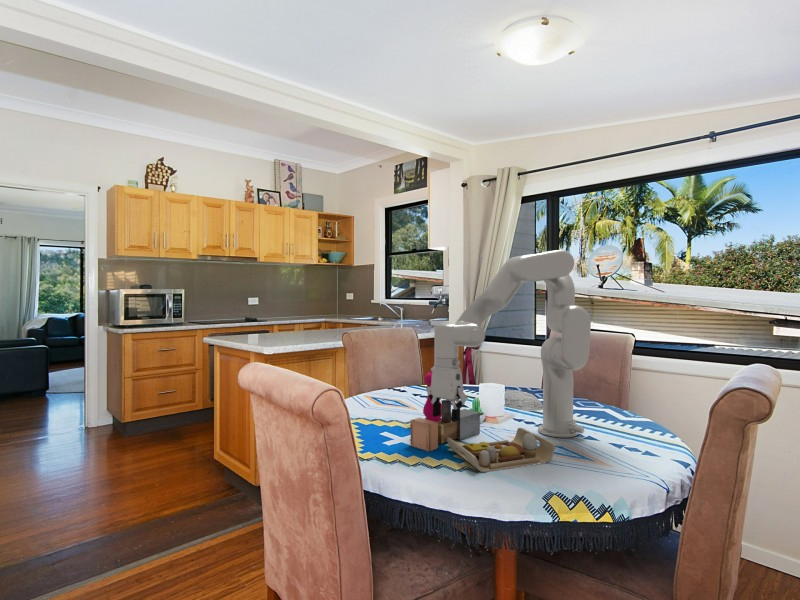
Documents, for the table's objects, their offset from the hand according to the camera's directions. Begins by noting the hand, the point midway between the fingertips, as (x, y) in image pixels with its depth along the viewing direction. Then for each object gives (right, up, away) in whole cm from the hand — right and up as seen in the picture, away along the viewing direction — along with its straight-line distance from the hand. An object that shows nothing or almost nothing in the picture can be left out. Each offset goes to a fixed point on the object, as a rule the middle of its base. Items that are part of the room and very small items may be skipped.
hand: (446, 418), depth 149 cm
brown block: (-7, -7, -7) cm, 12 cm away
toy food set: (+14, -8, -15) cm, 21 cm away
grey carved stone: (+34, -7, +47) cm, 58 cm away
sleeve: (+6, -7, +6) cm, 11 cm away
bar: (+3, -7, +3) cm, 8 cm away
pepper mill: (-3, -7, +18) cm, 19 cm away
